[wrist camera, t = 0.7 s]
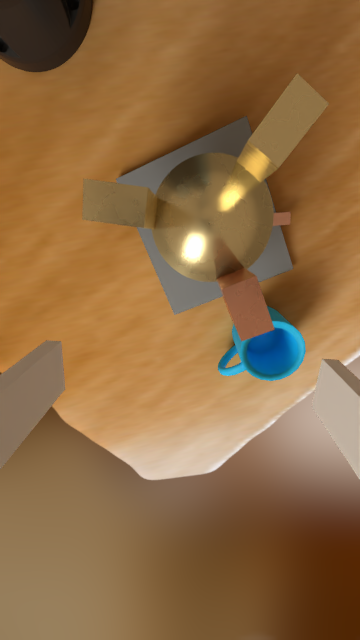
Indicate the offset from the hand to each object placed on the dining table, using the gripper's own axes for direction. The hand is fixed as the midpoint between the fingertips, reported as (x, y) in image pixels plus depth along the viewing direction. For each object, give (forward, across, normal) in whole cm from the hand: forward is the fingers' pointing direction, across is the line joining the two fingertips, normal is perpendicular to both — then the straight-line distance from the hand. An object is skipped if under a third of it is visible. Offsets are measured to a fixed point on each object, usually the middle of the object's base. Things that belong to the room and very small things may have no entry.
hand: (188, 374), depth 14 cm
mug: (+29, +9, -9) cm, 32 cm away
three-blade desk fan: (+20, +2, +6) cm, 21 cm away
